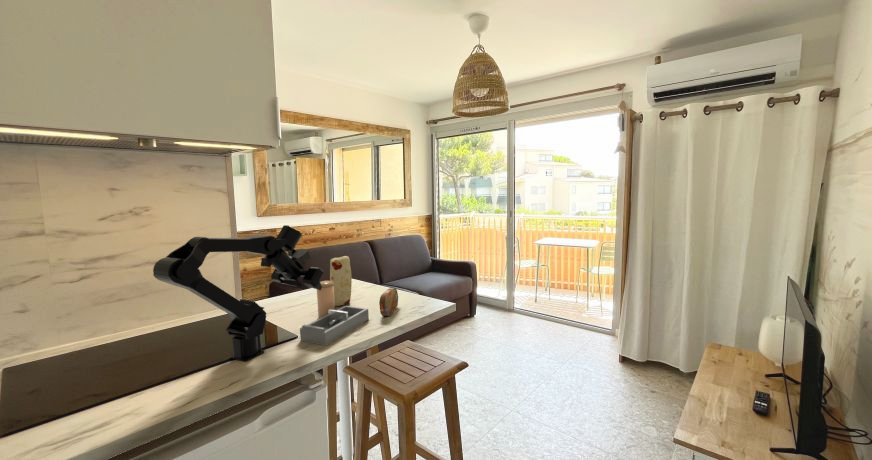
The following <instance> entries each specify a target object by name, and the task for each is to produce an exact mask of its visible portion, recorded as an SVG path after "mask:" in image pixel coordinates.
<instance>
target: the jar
mask: <svg viewBox="0 0 872 460" xmlns="http://www.w3.org/2000/svg"><path fill="white" fill-rule="evenodd" d="M320 283H321V286H322V289H321V290H318V289H316V298H317V299H316V302H317V315H318V318H317V319H319V318H321V317H324V316H326V315H328V310H330V309H331V310H336V306H335V301H334V282H333V281H330V280H322V281H320Z"/></svg>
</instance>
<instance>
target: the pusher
mask: <svg viewBox="0 0 872 460" xmlns="http://www.w3.org/2000/svg"><path fill="white" fill-rule="evenodd" d="M328 314H329V323H328V325H329V326H332V325H337V324H339V323H340V322H342V321H344V320H346V319H348V312H345V311H338V309H335V310H331V309H330V310H328Z"/></svg>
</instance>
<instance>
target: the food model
mask: <svg viewBox="0 0 872 460" xmlns="http://www.w3.org/2000/svg"><path fill="white" fill-rule="evenodd" d="M329 261H330V262H329V263H330V264H329V266H330V267H329V272H330V273H329V281H333V282H334V301H335V307H339V306H345V305H347V304H349V303H351V298H352V283H353V282H352V280H353V279H352V268H351V260H350V257H349V256H347V255H344V256H340V257H334V258H331V259H330V260H329Z"/></svg>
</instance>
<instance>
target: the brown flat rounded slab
mask: <svg viewBox="0 0 872 460" xmlns="http://www.w3.org/2000/svg"><path fill="white" fill-rule="evenodd" d="M398 304H399V294H398V290H397V288H396V287H392V288H390V287H389V288H388V289H386V290H385V291H384V292H383V293H382V294H381V295H380V297H379V312H380V315H381V316H383V317H390V316H391V315H392V314H393V313H394V312H395V311H396V310H397V308H398V306H399V305H398Z"/></svg>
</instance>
